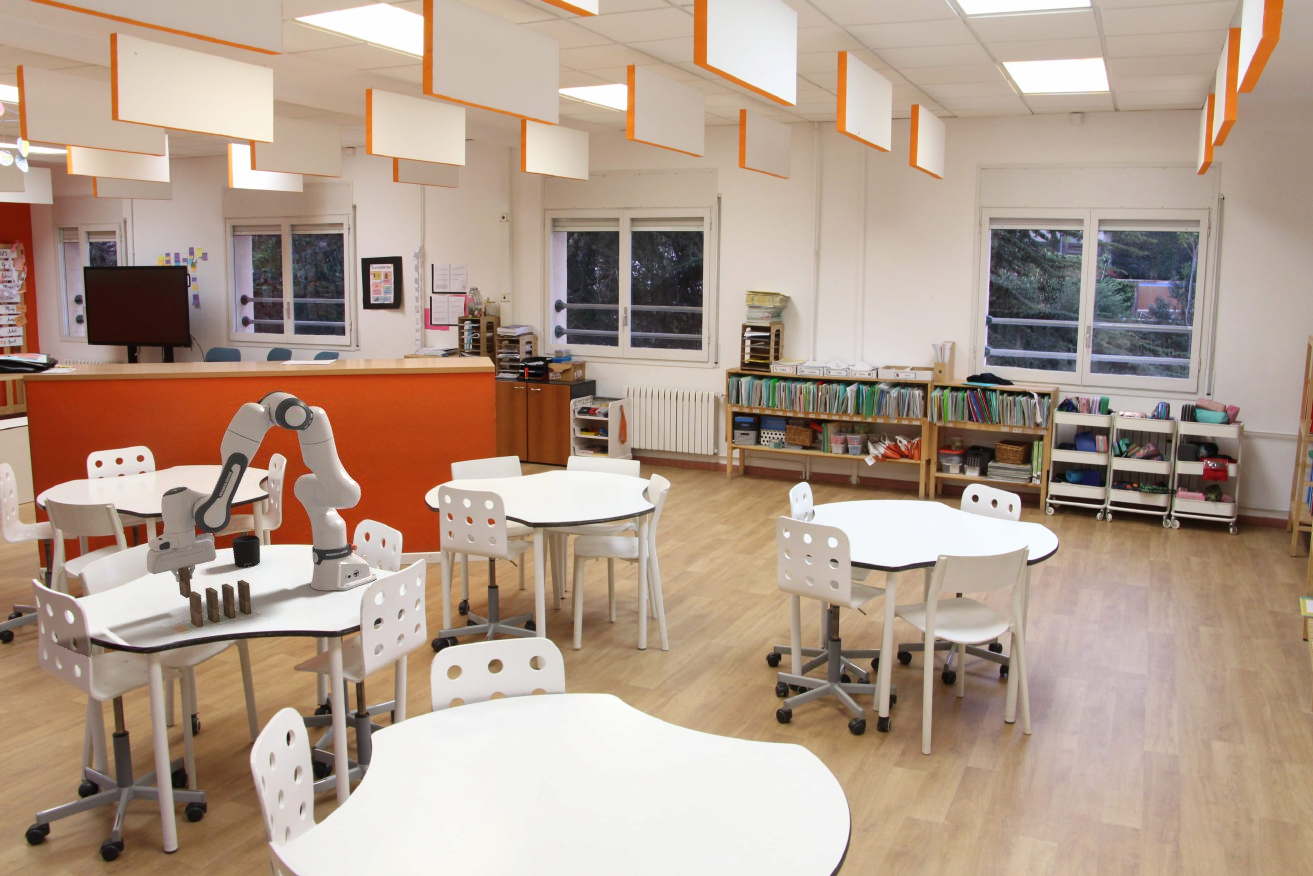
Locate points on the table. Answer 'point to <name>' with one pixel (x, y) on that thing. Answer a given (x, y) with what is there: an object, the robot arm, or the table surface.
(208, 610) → the domino
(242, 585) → the domino
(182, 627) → the domino board
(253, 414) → the robot arm
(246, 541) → the pen holder
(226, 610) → the domino
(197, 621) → the domino
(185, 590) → the end domino
